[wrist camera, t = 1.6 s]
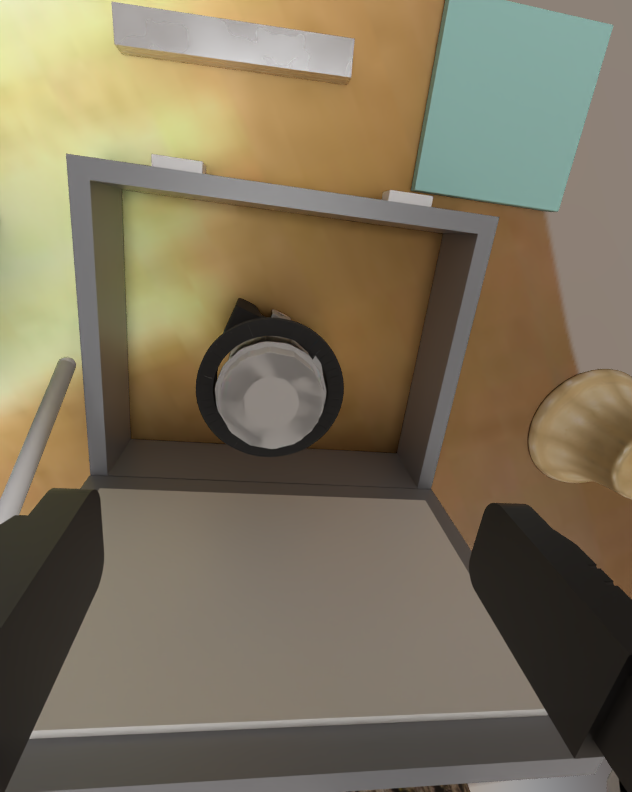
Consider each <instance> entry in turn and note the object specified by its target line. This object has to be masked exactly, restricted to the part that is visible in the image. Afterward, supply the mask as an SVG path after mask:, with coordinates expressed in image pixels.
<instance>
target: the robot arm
mask: <svg viewBox="0 0 632 792" xmlns="http://www.w3.org/2000/svg"><path fill="white" fill-rule="evenodd" d="M103 566H104V542H103V528H102V514H101V501H100V495H99V492H98V491H97V490H95V489H64V488H53V489H50V490H49V491H48V492H47V493H46V494H45V496H44V497H43V498H42V499H41V500H40V502H39V503H38V504H37V505H36V507H35V508H34V509H33V510H32V511H31V513H30V514H29V515H28V516H27V515H14V516H13V517H11V518H10V519H8V520H6V521H5V522H3V523H2V524H0V792H5V790H6V788H7V786H8V784H9V781H10V779H11V777H12V775H13V773H14V771H15V768H16V766H17V764H18V762H19V760H20V757H21V755H22V753H23V751H24V749H25V747H26V744H27V742H28V740H29V738H30V736H31V733H32V731H33V729H34V727H35V725H36V722H37V720H38V718H39V716H40V714H41V712H42V709H43V707H44V705H45V703H46V701H47V698H48V696H49V694H50V692H51V690H52V688H53V685H54V683H55V681H56V679H57V677H58V674H59V672H60V670H61V668H62V666H63V664H64V661H65V659H66V657H67V655H68V653H69V650H70V648H71V646H72V644H73V642H74V640H75V637H76V635H77V633H78V631H79V629H80V626H81V624H82V622H83V620H84V618H85V616H86V613H87V611H88V609H89V607H90V605H91V602H92V600H93V598H94V596H95V594H96V592H97V589H98V587H99V584H100V580H101V577H102V572H103ZM469 575H470V580H471V583H472V586H473V588H474V590H475V592H476V594H477V595H478V597H479V599H480V600H481V602H482V604H483V605H484V607H485V609H486V610H487V612H488V614H489V616H490V617H491V619H492V621H493V622H494V624H495V626H496V627H497V629H498V631H499V632H500V634H501V636H502V638H503V639H504V641H505V643H506V644H507V646H508V648H509V649H510V651H511V653H512V654H513V656H514V658H515V659H516V661H517V663H518V665H519V666H520V668H521V670H522V671H523V673H524V675H525V676H526V678H527V680H528V681H529V683H530V685H531V687H532V688H533V690H534V692H535V693H536V695H537V697H538V698H539V700H540V702H541V703H542V705H543V707H544V708H545V710H546V712H547V714H548V715H549V717H550V719H551V720H552V722H553V724H554V725H555V727H556V729H557V730H558V732H559V734H560V736H561V737H562V739H563V741H564V742H565V744H566V746H567V747H568V749H569V751H570V752H571V754H572V756H573V757H574V759H580V758H593V757H605V758H606V760H607V761H608V763H609V765H610V766H611V768H612V771H611V773H610V774H609V776H608V780H607V792H632V600H631V599H630V598H629V597H628V596H627V595H626V594H625V593H624V592H623V591H622V590H621V589H620V588H619V587H618V586H614V584H613V581H612V580H611V579H610V578H609V577H608V576H607V575H606V574H605V573H604V572H603V571H602V570H601V569H597V567H596V564H595V563H594V562H593V561H592V560H591V559H590V558H589V557H588V556H587V555H586V554H585V553H584V552H583V551H582V550H581V549H580V548H579V547H578V546H577V545H576V544H575V543H573V542H572V541H570V540H569V539H567V538H566V537H564V536H563V535H561V534H560V533H558V532H557V531H555V530H553V529H552V528H551V527H550V526H549V525H548V524H547V523H546V522H545V521H544V520H543V519H542V518H541V517H540V516H539V515H538V514H537V513H536V512H535V511H534V509H533V508H531V507H530V506H529V505H526V504H509V503H491V504H489V505H488V506H487V507H486V509H485V511H484V514H483V517H482V520H481V524H480V527H479V530H478V533H477V536H476V540H475V543H474V546H473V549H472V553H471V556H470V560H469Z"/></svg>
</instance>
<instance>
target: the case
mask: <svg viewBox="0 0 632 792" xmlns="http://www.w3.org/2000/svg"><path fill="white" fill-rule="evenodd" d="M66 159H67V173H68V186H69V199H70V212H71V225H72V238H73V251H74V265H75V278H76V291H77V304H78V317H79V330H80V343H81V356H82V370H83V383H84V396H85V409H86V422H87V435H88V448H89V462H90V475H91V476H89V477H88V479H87V480H86V481H85V483H84V484H83V486H82V487H81V488H80V489H95V490H97V491H98V492H99V495H100V501H101V514H102V528H103V542H104V566H103V572H102V577H101V580H100V584H99V587H98V589H97V592H96V594H95V596H94V598H93V600H92V602H91V605H90V607H89V609H88V611H87V613H86V616H85V618H84V620H83V622H82V624H81V626H80V629H79V631H78V633H77V635H76V637H75V640H74V642H73V644H72V646H71V648H70V650H69V653H68V655H67V657H66V659H65V661H64V664H63V666H62V668H61V670H60V672H59V674H58V677H57V679H56V681H55V683H54V685H53V688H52V690H51V692H50V694H49V696H48V698H47V701H46V703H45V705H44V707H43V709H42V712H41V714H40V716H39V718H38V720H37V722H36V725H35V727H34V729H33V731H32V733H31V736H30V738H29V740H28V742H27V744H26V747H25V749H24V751H23V753H22V755H21V757H20V760H19V762H18V764H17V766H16V768H15V771H14V773H13V775H12V777H11V779H10V781H9V784H8V786H7V788H6V790H5V792H348V791H363V790H377V789H392V788H406V787H421V786H435V785H450V784H464V783H479V782H493V781H508V780H521V779H537V778H550V777H566V776H580V775H594V774H595V773H596V771H597V769H598V767H599V765H600V764H601V762H602V760H603V758H604V757H593V758H580V759H574V757H573V756H572V754H571V752H570V751H569V749H568V747H567V746H566V744H565V742H564V741H563V739H562V737H561V736H560V734H559V732H558V730H557V729H556V727H555V725H554V724H553V722H552V720H551V719H550V717H549V715H548V714H547V712H546V710H545V708H544V707H543V705H542V703H541V702H540V700H539V698H538V697H537V695H536V693H535V692H534V690H533V688H532V687H531V685H530V683H529V681H528V680H527V678H526V676H525V675H524V673H523V671H522V670H521V668H520V666H519V665H518V663H517V661H516V659H515V658H514V656H513V654H512V653H511V651H510V649H509V648H508V646H507V644H506V643H505V641H504V639H503V638H502V636H501V634H500V632H499V631H498V629H497V627H496V626H495V624H494V622H493V621H492V619H491V617H490V616H489V614H488V612H487V610H486V609H485V607H484V605H483V604H482V602H481V600H480V599H479V597H478V595H477V594H476V592H475V590H474V588H473V586H472V583H471V580H470V575H469V560H470V556H471V553H472V551H471V550H470V548H469V547H468V545H467V544H466V542H465V540H464V539H463V537H462V536H461V534H460V533H459V531H458V530H457V528H456V527H455V525H454V523H453V522H452V520H451V519H450V517H449V516H448V514H447V513H446V511H445V510H444V508H443V506H442V505H441V503H440V502H439V500H438V499H437V497H436V496H435V494H434V493H433V491H432V490H431V487H432V483H433V479H434V475H435V471H436V467H437V463H438V459H439V455H440V451H441V447H442V443H443V439H444V435H445V431H446V427H447V423H448V419H449V415H450V411H451V407H452V403H453V399H454V395H455V391H456V387H457V383H458V379H459V375H460V371H461V367H462V363H463V359H464V355H465V351H466V348H467V344H468V340H469V336H470V332H471V328H472V324H473V320H474V316H475V312H476V308H477V304H478V300H479V296H480V292H481V288H482V284H483V280H484V276H485V272H486V268H487V264H488V260H489V256H490V252H491V248H492V244H493V240H494V236H495V232H496V228H497V224H498V220H499V217H495V216H488V215H482V214H475V213H468V212H461V211H454V210H447V209H441V208H434V207H431V205H432V200H433V196H428V195H421V194H414V193H408V192H401V191H395V190H388V191H385V192H383V195H382V200H379V199H372V198H365V197H358V196H352V195H345V194H338V193H331V192H324V191H317V190H311V189H304V188H297V187H290V186H283V185H276V184H270V183H263V182H256V181H249V180H242V179H235V178H229V177H222V176H215V175H208V174H206V165H205V164H204V163H203V162H202V161H195V160H188V159H182V158H175V157H168V156H162V155H155V154H152V166H146V165H140V164H133V163H126V162H119V161H112V160H105V159H99V158H92V157H85V156H78V155H71V154H66ZM122 190H129V191H137V192H144V193H151V194H159V195H166V196H173V197H181V198H188V199H195V200H202V201H210V202H217V203H224V204H232V205H239V206H246V207H254V208H261V209H268V210H275V211H283V212H290V213H297V214H305V215H312V216H319V217H327V218H334V219H341V220H348V221H356V222H363V223H370V224H378V225H385V226H392V227H400V228H407V229H414V230H421V231H429V232H436V233H443V237H442V242H441V247H440V251H439V256H438V261H437V265H436V270H435V275H434V280H433V284H432V289H431V294H430V299H429V303H428V308H427V313H426V317H425V322H424V327H423V332H422V336H421V341H420V346H419V351H418V355H417V360H416V365H415V370H414V374H413V379H412V384H411V388H410V393H409V398H408V403H407V407H406V412H405V417H404V422H403V426H402V431H401V436H400V440H399V445H398V450H397V453H381V452H362V451H343V450H325V449H306V448H305V449H303V450H301V451H299V452H296V453H293V454H289V455H285V456H278V457H260V456H254V455H250V454H246V453H243V452H241V451H238V450H236V449H234V448H232V447H230V446H229V445H227V444H214V443H195V442H177V441H158V440H140V439H131V431H130V404H129V376H128V349H127V321H126V294H125V267H124V239H123V212H122ZM75 368H76V363H75V361H74V360H73V359H72V358H69V357H64V358H61V359H60V360H59V361H58V363H57V366H56V368H55V370H54V373H53V375H52V377H51V380H50V382H49V385H48V387H47V389H46V392H45V394H44V397H43V399H42V401H41V404H40V406H39V408H38V411H37V413H36V416H35V418H34V420H33V423H32V425H31V428H30V430H29V432H28V435H27V437H26V439H25V442H24V444H23V447H22V449H21V451H20V454H19V456H18V459H17V461H16V463H15V466H14V468H13V470H12V473H11V475H10V478H9V480H8V482H7V485H6V487H5V490H4V492H3V494H2V497H1V499H0V524H2V523H3V522H5V521H6V520H8V519H10V518H11V517H13V516H14V515H19V513H20V511H21V508H22V506H23V503H24V500H25V498H26V495H27V493H28V490H29V487H30V485H31V482H32V480H33V477H34V474H35V472H36V469H37V467H38V464H39V461H40V459H41V456H42V454H43V451H44V448H45V446H46V443H47V441H48V438H49V435H50V433H51V430H52V428H53V425H54V422H55V420H56V417H57V415H58V412H59V409H60V407H61V404H62V402H63V399H64V396H65V394H66V391H67V389H68V386H69V383H70V381H71V378H72V376H73V373H74V370H75Z"/></svg>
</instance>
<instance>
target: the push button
mask: <svg viewBox="0 0 632 792" xmlns="http://www.w3.org/2000/svg"><path fill="white" fill-rule="evenodd" d="M230 351H231V353H230V356H229V360H228V361H227V362H226V363H225V364H224V366H223V367H222V369H221V372H220V374H219V377H218V380H217V371H218V366H219V365H220V363H221V362H222V360H223V359H224V358H225V356H226V355H227V354H228V353H229V352H230ZM322 373H323V374H322ZM343 394H344V383H343V376H342V371H341V368H340V365H339V363H338V360H337V358H336V356H335V355H334V353H333V351H332V350H331V348H330V347H329V345H328V344H327V343H326V342H325V341H324V340H323V339H322V338H321V337H320V336H319V335H318V334H317V333H316V332H314V331H313V330H311V329H310V328H308V327H306V326H304V325H302V324H300V323H297V322H295V321H292V320H291V318H290V317H288V316H287V315H285V314H283V313H281V312H279V311H277V310H274V309H272V316H271V317H265V316H263V315H261V314H260V312H259V311H258V309H257V307H256V306H255V305H253V304H252V303H250V302H248V301H246V300H243V299H241V298H239V299H238V301H237V303H236V305H235V308H234V310H233V312H232V314H231V317H230V319H229V321H228V323H227V326H226V328H225V330H224V332H223V334H222V335H221V336H219V337H218V338H217V339H216V340H215V341H214V342H213V344H212V345H211V346H210V348H209V349H208V351H207V352H206V354H205V356H204V358H203V360H202V362H201V364H200V367H199V370H198V374H197V379H196V397H197V403H198V406H199V410H200V412H201V415H202V417H203V419H204V420H205V422H206V424H207V425H208V427H209V428H210V429H211V431H212V432H213V433H214V434H215V435H216V436H217V437H218V438H219V439H220V440H222V441H223V442H224V443H226V444H227V445H229V446H230V447H232V448H234V449H236V450H238V451H241V452H243V453H246V454H250V455H254V456H260V457H278V456H285V455H289V454H293V453H296V452H299V451H301V450H303V449H305V448H307V447H309V446H311V445H312V444H314V443H315V442H316V441H318V440H319V439H320V438H321V437H322V436H323V435H324V434H325V433H326V432H327V431H328V430H329V428H330V427H331V426H332V424H333V423H334V421H335V419H336V418H337V416H338V413H339V411H340V408H341V404H342V401H343Z"/></svg>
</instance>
